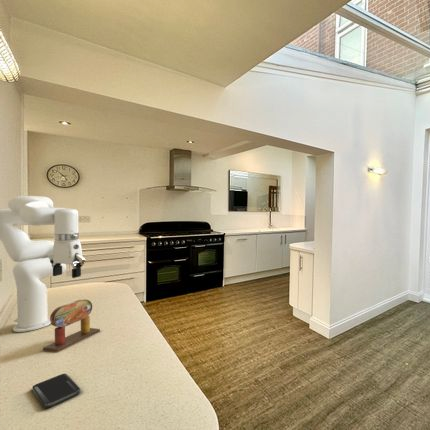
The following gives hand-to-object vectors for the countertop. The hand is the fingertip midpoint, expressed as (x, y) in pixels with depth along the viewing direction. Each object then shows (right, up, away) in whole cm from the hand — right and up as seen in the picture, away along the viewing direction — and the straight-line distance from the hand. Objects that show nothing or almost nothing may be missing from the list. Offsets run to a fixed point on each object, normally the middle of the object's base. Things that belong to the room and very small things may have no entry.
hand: (66, 276), depth 115 cm
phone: (+29, -28, -33) cm, 52 cm away
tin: (+5, -19, -3) cm, 20 cm away
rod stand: (+5, -27, -3) cm, 27 cm away
